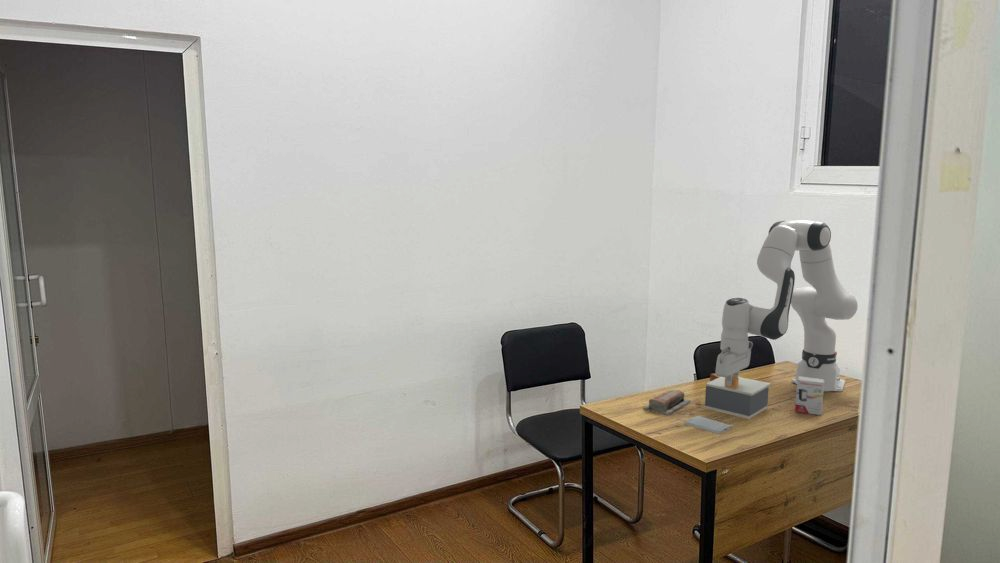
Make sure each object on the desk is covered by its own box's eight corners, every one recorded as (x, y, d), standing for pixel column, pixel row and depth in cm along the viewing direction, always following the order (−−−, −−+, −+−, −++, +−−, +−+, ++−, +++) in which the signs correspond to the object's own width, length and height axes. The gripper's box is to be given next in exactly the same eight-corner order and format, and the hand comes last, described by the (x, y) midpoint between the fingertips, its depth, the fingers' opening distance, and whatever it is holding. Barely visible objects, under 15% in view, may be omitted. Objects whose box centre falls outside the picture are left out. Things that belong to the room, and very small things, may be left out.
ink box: (794, 412, 237) (797, 379, 235) (794, 408, 241) (797, 375, 240) (822, 415, 233) (824, 382, 232) (821, 411, 238) (824, 378, 236)
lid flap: (725, 376, 251) (726, 365, 251) (770, 385, 240) (771, 373, 240) (705, 385, 239) (706, 373, 238) (752, 395, 228) (752, 383, 227)
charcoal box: (724, 398, 251) (725, 377, 250) (767, 408, 241) (768, 386, 240) (704, 408, 240) (706, 386, 239) (749, 419, 229) (750, 396, 228)
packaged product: (669, 403, 231) (643, 397, 237) (669, 417, 232) (642, 411, 238) (691, 391, 245) (666, 386, 251) (691, 404, 245) (665, 398, 252)
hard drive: (684, 420, 224) (719, 430, 215) (697, 415, 229) (732, 424, 220) (684, 425, 224) (719, 435, 215) (697, 420, 229) (731, 429, 221)
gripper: (730, 352, 223) (727, 392, 225) (754, 342, 238) (752, 380, 240) (712, 348, 228) (709, 388, 229) (737, 339, 243) (734, 376, 244)
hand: (731, 384), depth 235 cm, fingers closed on lid flap, 2 cm apart
